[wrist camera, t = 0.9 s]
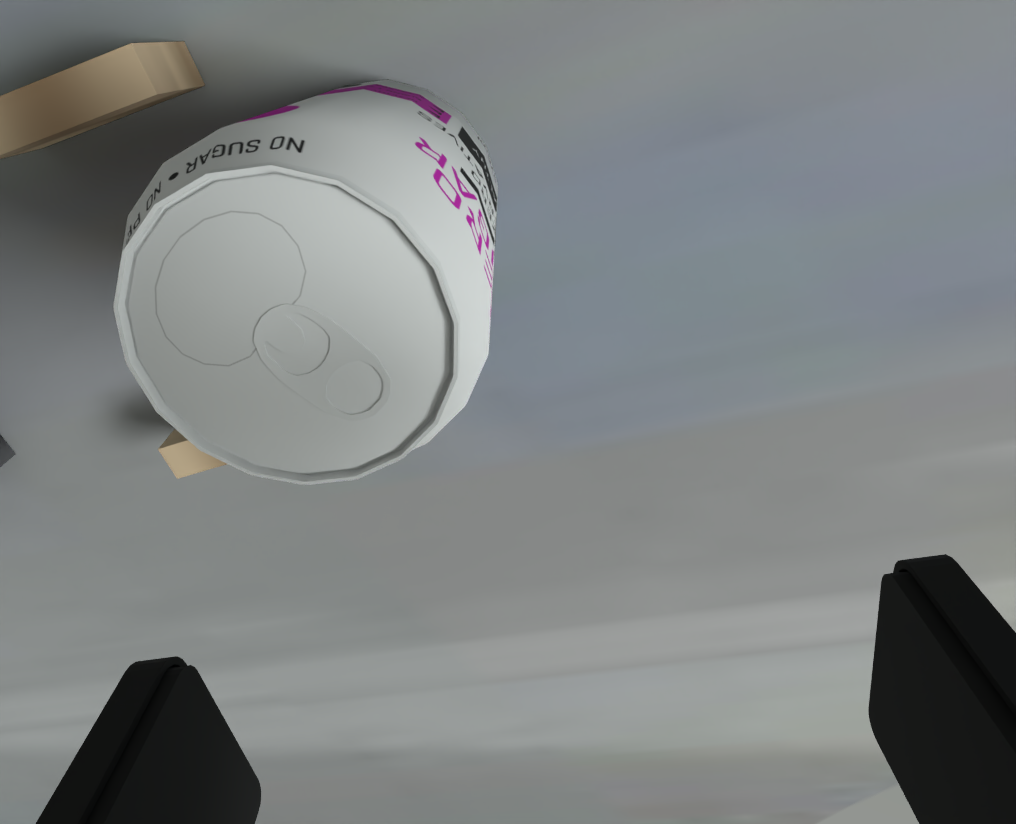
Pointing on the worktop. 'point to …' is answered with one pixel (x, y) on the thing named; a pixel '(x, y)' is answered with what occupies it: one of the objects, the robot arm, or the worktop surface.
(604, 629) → the worktop surface
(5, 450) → the pit tray
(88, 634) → the worktop surface
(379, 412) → the supplement can
